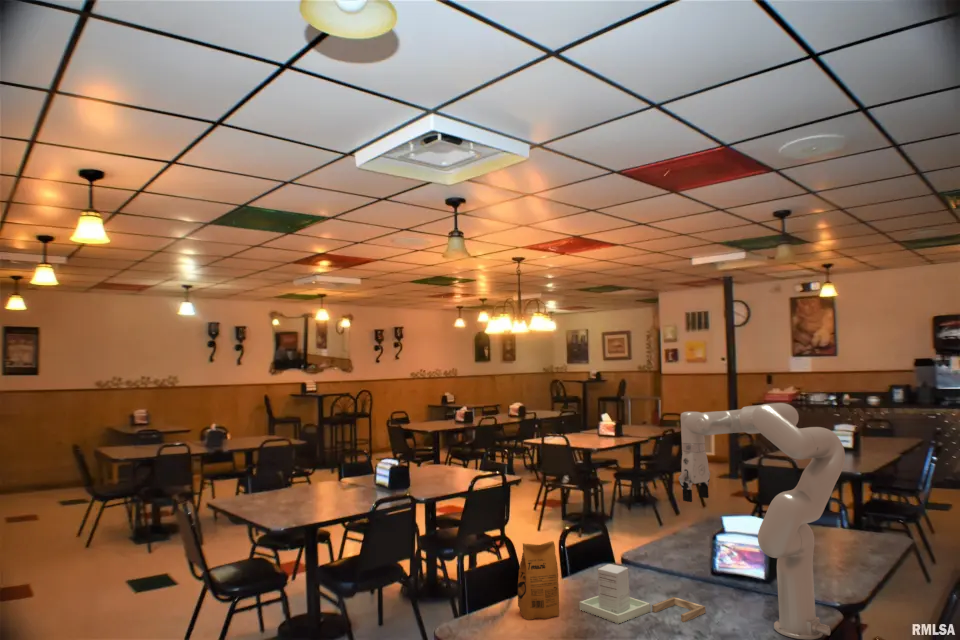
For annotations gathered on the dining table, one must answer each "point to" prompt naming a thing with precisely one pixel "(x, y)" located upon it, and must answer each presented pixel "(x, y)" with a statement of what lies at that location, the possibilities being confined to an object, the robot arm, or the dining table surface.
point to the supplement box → (613, 588)
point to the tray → (634, 611)
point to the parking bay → (694, 608)
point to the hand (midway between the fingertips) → (695, 499)
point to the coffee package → (538, 582)
